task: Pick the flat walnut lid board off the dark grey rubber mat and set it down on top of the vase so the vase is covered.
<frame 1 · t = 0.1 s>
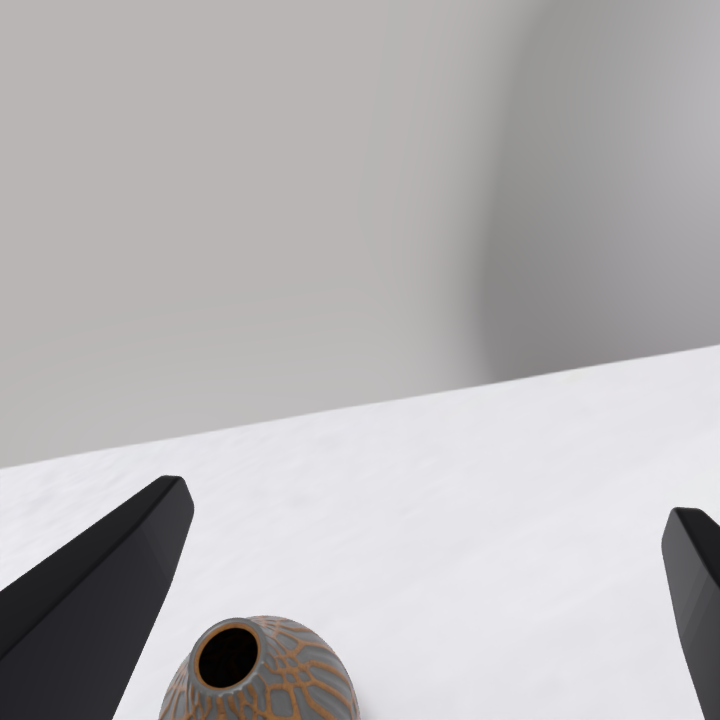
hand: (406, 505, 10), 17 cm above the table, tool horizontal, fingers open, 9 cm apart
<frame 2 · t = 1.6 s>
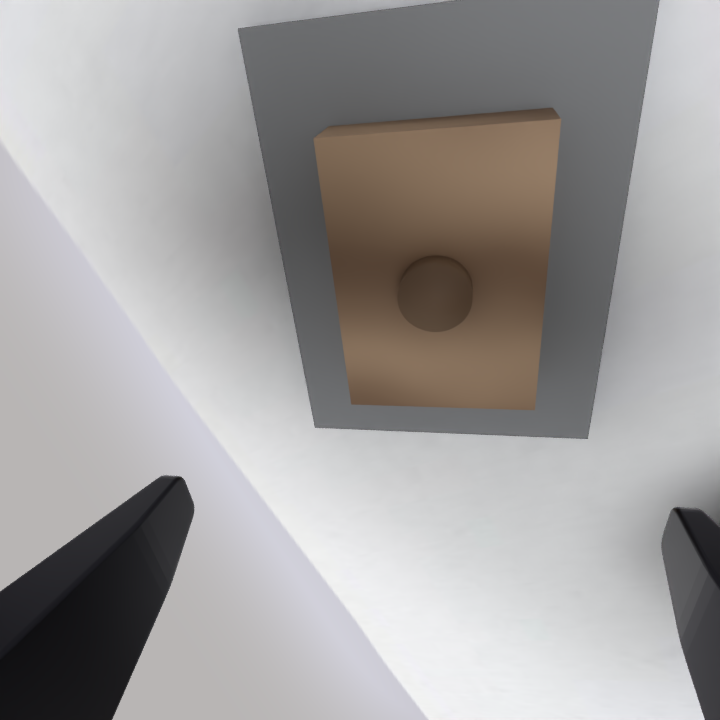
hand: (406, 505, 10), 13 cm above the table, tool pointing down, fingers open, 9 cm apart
lid: (439, 265, 19), point 1 cm above the table, touching mat
mat: (441, 254, 20), on the table
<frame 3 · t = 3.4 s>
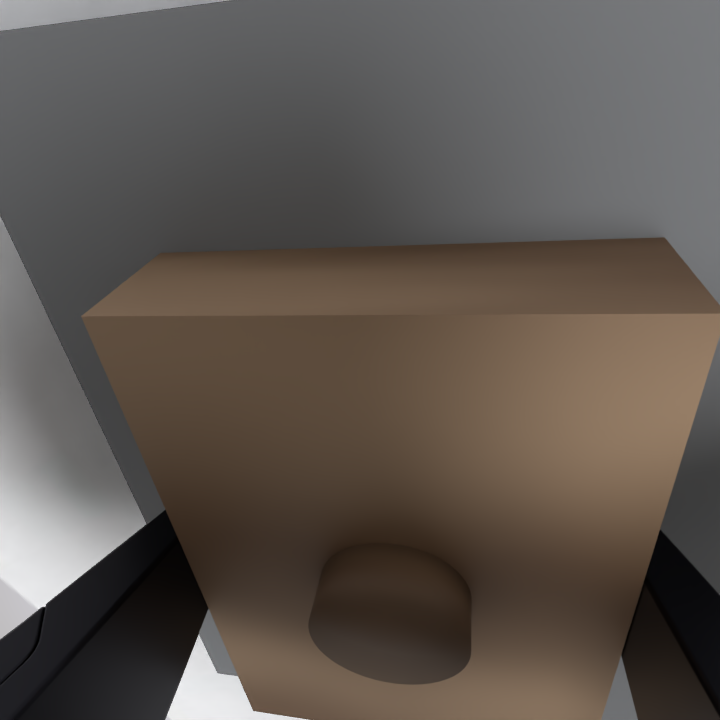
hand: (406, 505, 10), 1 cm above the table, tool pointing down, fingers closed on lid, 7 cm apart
lid: (407, 496, 10), point 1 cm above the table, touching gripper, mat
mat: (411, 459, 11), on the table
when the fingers open (10 cm above the table, at t = 7.3 s): lid drops 1 cm, resting on vase.
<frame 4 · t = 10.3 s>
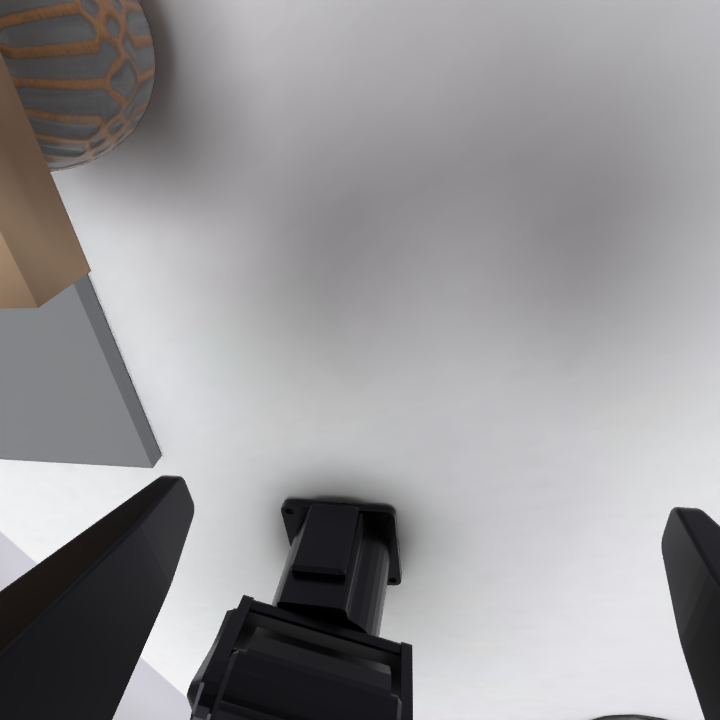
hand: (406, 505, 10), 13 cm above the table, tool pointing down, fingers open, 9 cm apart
mat: (7, 334, 27), on the table
vase: (95, 39, 19), on the table, touching lid
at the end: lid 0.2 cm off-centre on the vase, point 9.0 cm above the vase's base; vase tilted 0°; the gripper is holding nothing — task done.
